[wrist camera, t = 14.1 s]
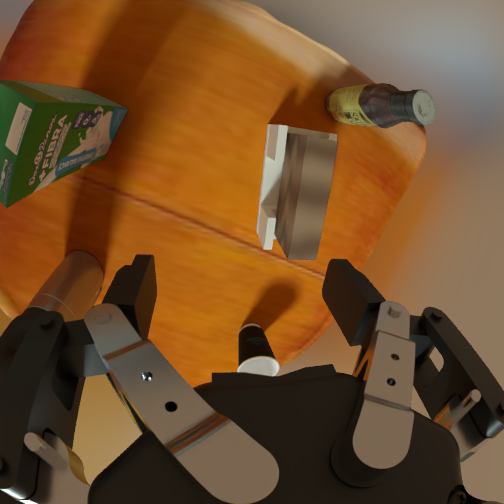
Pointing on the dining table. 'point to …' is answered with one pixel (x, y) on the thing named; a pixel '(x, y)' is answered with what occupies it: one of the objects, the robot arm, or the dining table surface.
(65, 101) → the milk carton
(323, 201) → the grey tapered panel
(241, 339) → the dixie cup
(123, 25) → the dining table surface
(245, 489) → the robot arm
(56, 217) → the dining table surface
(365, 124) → the sauce bottle
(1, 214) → the dining table surface
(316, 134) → the white notched block
